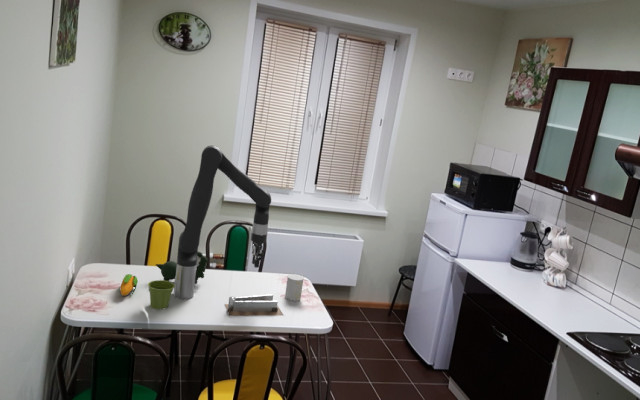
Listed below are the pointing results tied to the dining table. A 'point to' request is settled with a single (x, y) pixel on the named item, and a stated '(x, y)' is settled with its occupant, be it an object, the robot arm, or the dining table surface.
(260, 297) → the tongs swing arm
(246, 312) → the walnut board
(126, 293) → the corn
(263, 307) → the arm
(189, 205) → the robot arm
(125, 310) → the dining table surface
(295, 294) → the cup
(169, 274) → the toy figurine
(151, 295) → the plant pot
